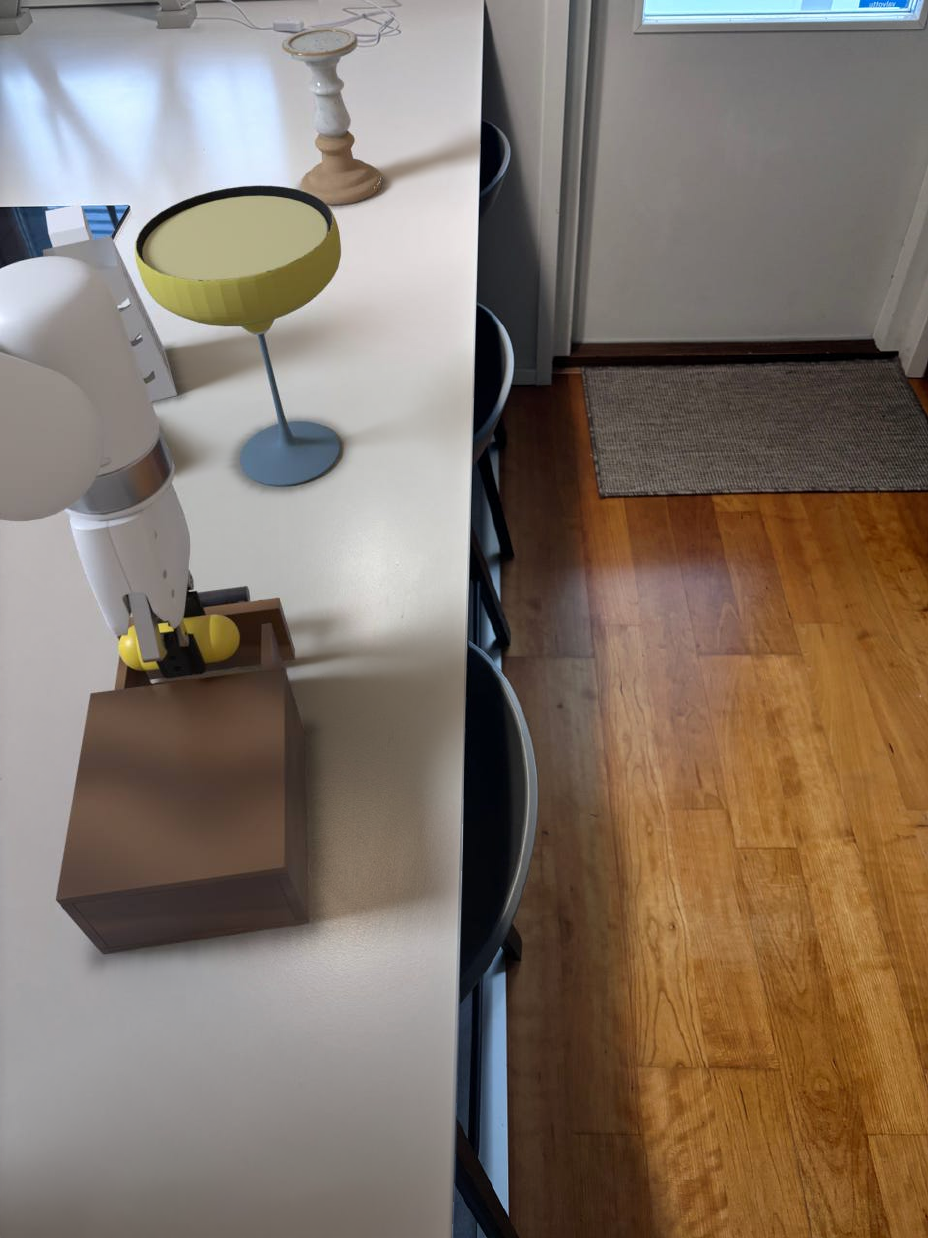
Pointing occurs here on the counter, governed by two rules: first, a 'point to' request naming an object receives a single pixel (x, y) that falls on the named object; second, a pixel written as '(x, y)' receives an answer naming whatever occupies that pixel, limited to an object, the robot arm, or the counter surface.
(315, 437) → the cocktail glass
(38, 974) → the counter surface
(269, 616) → the drawer
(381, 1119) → the counter surface
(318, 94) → the candle holder
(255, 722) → the cabinet
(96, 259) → the grater
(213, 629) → the yellow pill capsule
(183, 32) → the counter surface
